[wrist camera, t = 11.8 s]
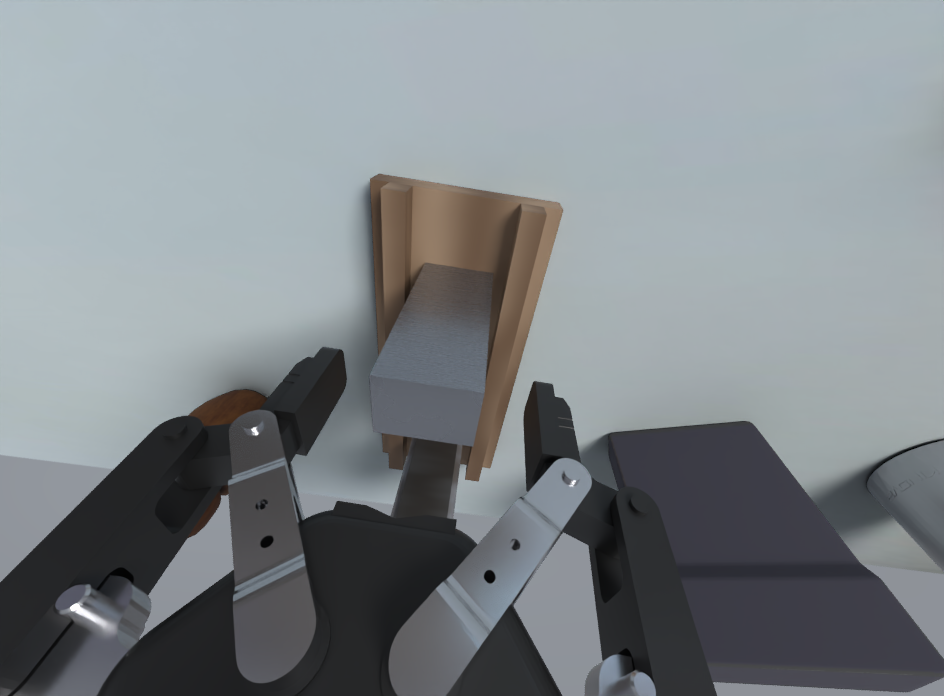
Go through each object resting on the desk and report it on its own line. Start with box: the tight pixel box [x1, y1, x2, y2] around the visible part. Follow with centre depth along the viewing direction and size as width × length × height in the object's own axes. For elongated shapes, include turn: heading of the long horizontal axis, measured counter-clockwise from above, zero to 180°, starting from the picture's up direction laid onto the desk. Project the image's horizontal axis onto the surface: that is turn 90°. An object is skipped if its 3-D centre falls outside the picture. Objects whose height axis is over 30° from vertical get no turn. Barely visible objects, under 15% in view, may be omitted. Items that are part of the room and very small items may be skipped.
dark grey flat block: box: [609, 421, 944, 692], centre depth 23 cm, size 11×4×15 cm, turn 104°
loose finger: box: [369, 262, 493, 447], centre depth 16 cm, size 4×3×10 cm
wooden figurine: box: [172, 389, 267, 560], centre depth 25 cm, size 7×6×15 cm
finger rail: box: [370, 174, 563, 519], centre depth 21 cm, size 10×23×12 cm, turn 172°
